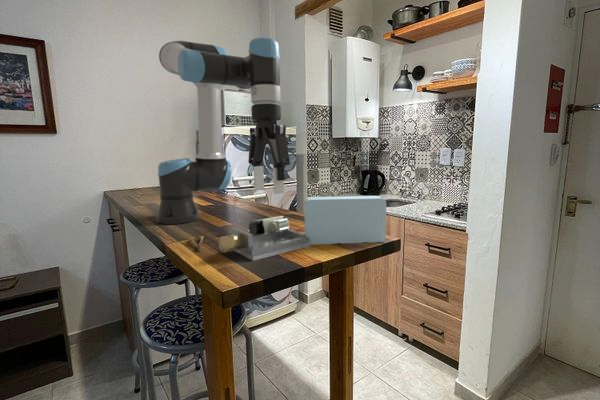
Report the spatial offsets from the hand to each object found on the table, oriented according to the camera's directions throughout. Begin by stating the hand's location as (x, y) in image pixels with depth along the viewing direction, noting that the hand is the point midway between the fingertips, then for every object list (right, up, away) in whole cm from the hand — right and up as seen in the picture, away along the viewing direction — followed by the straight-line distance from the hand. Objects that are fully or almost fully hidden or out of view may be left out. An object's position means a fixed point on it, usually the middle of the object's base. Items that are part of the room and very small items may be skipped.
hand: (268, 191), depth 87 cm
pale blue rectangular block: (+21, -15, +8) cm, 27 cm away
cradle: (-2, -16, +1) cm, 16 cm away
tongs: (-20, -16, +6) cm, 26 cm away
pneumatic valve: (+4, -10, +7) cm, 13 cm away
